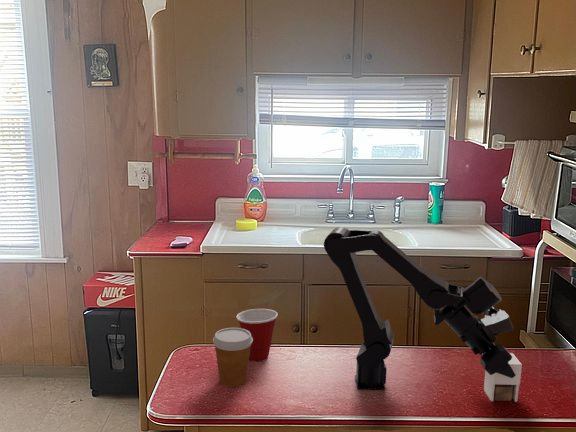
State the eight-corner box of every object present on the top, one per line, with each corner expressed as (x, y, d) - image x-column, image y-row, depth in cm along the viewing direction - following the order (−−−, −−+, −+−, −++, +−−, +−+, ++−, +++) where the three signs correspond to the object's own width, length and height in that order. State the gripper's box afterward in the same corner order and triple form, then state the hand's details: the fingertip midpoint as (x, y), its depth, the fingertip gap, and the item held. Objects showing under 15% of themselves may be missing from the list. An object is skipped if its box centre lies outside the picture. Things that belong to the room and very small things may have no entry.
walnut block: (494, 400, 143) (496, 386, 143) (489, 392, 147) (491, 379, 146) (511, 401, 143) (512, 387, 143) (505, 393, 147) (507, 379, 146)
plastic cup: (255, 344, 171) (255, 303, 169) (285, 355, 165) (286, 313, 162) (227, 357, 163) (227, 314, 161) (258, 369, 156) (258, 324, 154)
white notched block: (491, 402, 142) (495, 363, 140) (483, 389, 148) (487, 352, 146) (517, 402, 142) (521, 364, 140) (508, 390, 148) (512, 353, 146)
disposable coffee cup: (204, 381, 150) (204, 334, 147) (234, 368, 157) (234, 323, 154) (231, 394, 144) (231, 346, 141) (260, 381, 150) (261, 334, 148)
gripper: (506, 316, 131) (553, 365, 134) (480, 287, 149) (521, 331, 152) (466, 350, 133) (512, 398, 135) (444, 318, 151) (486, 361, 153)
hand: (509, 370), depth 144 cm, fingers closed on white notched block, 6 cm apart
